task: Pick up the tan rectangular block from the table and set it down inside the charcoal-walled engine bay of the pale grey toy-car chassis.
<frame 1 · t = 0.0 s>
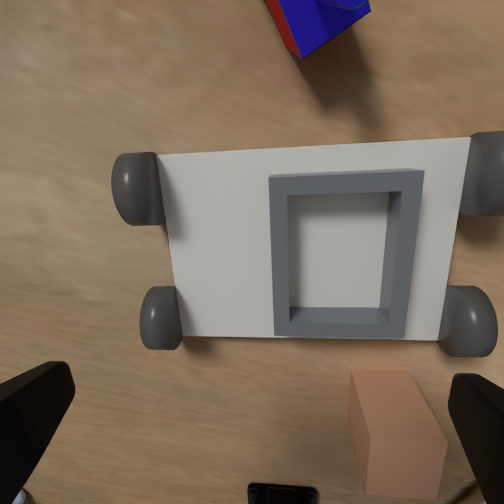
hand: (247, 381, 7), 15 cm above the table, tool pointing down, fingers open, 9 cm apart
tan rectangular block: (377, 396, 25), on the table
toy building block: (302, 4, 17), on the table
chassis: (302, 245, 21), on the table
toy figure: (17, 493, 34), on the table
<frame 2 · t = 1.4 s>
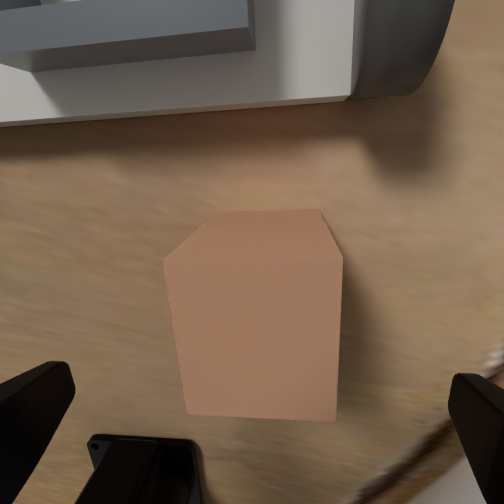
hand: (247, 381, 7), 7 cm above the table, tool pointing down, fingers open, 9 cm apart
tan rectangular block: (268, 264, 14), on the table
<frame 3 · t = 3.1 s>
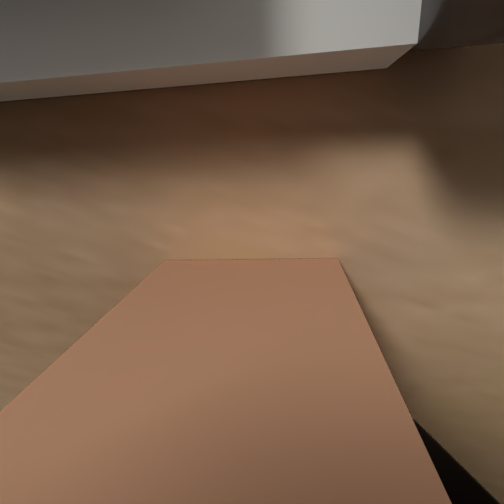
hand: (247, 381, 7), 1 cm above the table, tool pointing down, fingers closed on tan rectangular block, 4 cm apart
tan rectangular block: (253, 343, 8), on the table, touching gripper
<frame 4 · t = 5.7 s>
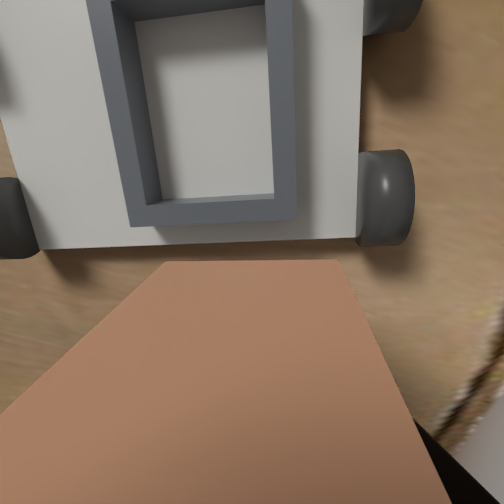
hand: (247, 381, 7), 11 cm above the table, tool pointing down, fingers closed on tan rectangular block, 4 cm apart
tan rectangular block: (253, 344, 8), point 10 cm above the table, touching gripper
chassis: (179, 119, 16), on the table
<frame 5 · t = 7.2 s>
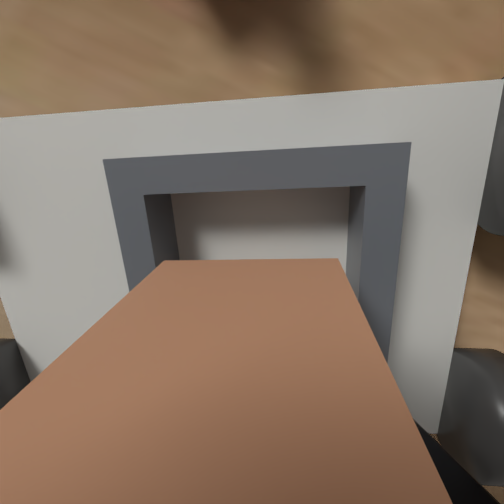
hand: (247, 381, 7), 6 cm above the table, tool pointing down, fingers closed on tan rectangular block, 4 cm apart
tan rectangular block: (253, 344, 8), point 5 cm above the table, touching gripper
chassis: (217, 276, 13), on the table
when the fingers open (4 cm above the table, at t = 8.3 s): tan rectangular block drops 1 cm, resting on chassis.
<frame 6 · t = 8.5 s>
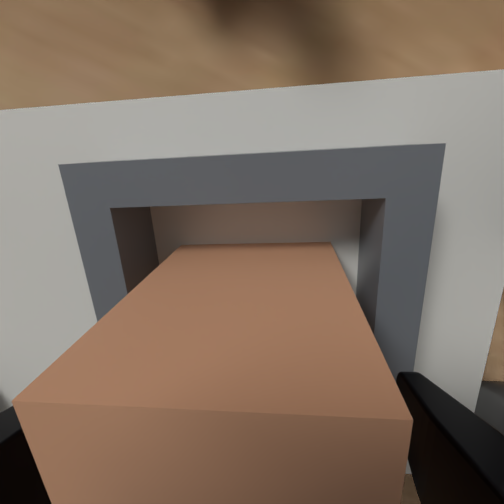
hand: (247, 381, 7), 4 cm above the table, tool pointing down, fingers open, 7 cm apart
tan rectangular block: (257, 317, 10), point 1 cm above the table, touching chassis
chassis: (208, 295, 11), on the table
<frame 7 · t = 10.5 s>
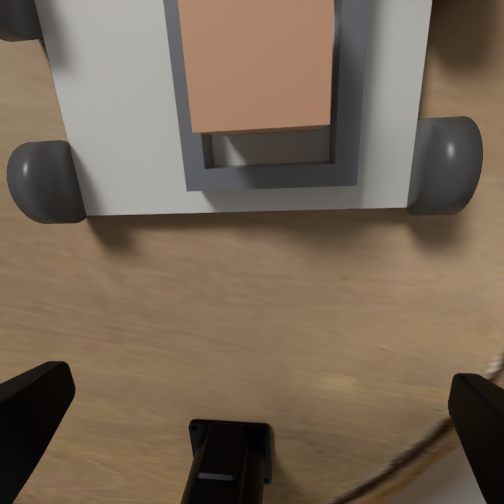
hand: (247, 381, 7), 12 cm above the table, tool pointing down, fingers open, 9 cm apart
tan rectangular block: (268, 76, 14), point 1 cm above the table, touching chassis
chassis: (232, 84, 16), on the table
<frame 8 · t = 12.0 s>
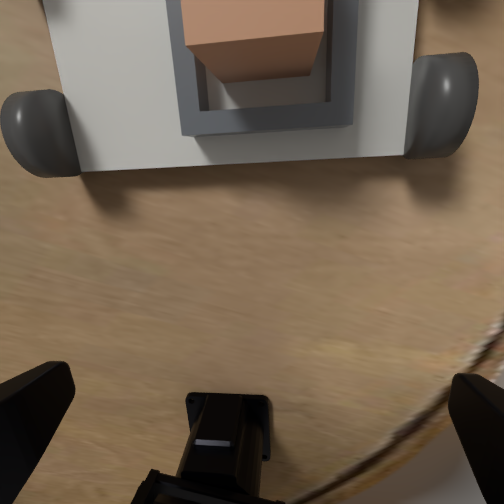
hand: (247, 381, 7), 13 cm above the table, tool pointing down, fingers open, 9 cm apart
tan rectangular block: (263, 20, 14), point 1 cm above the table, touching chassis
chassis: (227, 35, 16), on the table
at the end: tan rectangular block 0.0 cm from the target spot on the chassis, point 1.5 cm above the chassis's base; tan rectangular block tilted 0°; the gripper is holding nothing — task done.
